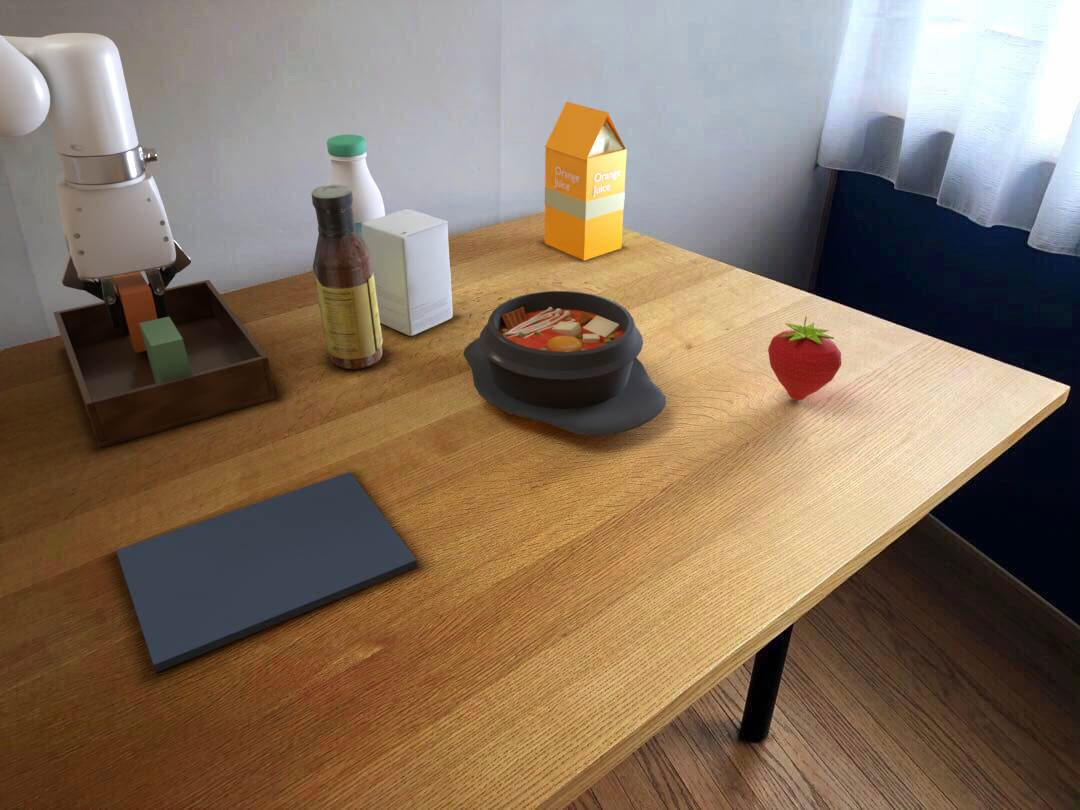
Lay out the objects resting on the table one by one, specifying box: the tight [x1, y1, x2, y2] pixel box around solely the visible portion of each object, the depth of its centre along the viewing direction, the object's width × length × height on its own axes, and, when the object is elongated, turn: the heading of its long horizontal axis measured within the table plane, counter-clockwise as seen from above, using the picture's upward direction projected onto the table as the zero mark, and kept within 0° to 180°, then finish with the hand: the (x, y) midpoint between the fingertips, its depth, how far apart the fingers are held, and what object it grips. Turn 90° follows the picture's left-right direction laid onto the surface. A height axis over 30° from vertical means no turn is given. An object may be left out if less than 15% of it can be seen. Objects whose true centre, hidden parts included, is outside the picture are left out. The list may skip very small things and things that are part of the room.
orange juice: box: [544, 101, 628, 261], centre depth 123 cm, size 8×9×20 cm
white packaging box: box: [362, 208, 454, 337], centre depth 104 cm, size 7×7×13 cm
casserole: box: [462, 290, 667, 437], centre depth 90 cm, size 25×19×8 cm
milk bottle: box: [326, 134, 386, 240], centre depth 109 cm, size 8×8×20 cm
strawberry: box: [767, 315, 842, 401], centre depth 88 cm, size 6×8×10 cm
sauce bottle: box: [311, 185, 384, 370], centre depth 93 cm, size 6×6×20 cm
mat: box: [115, 471, 418, 673], centre depth 69 cm, size 20×14×1 cm
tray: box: [52, 279, 277, 449], centre depth 94 cm, size 17×23×5 cm
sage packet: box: [139, 317, 191, 383], centre depth 89 cm, size 3×6×7 cm, turn 32°
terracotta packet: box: [113, 272, 157, 353], centre depth 96 cm, size 3×6×7 cm, turn 32°
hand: (141, 326), depth 97 cm, fingers closed on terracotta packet, 3 cm apart
